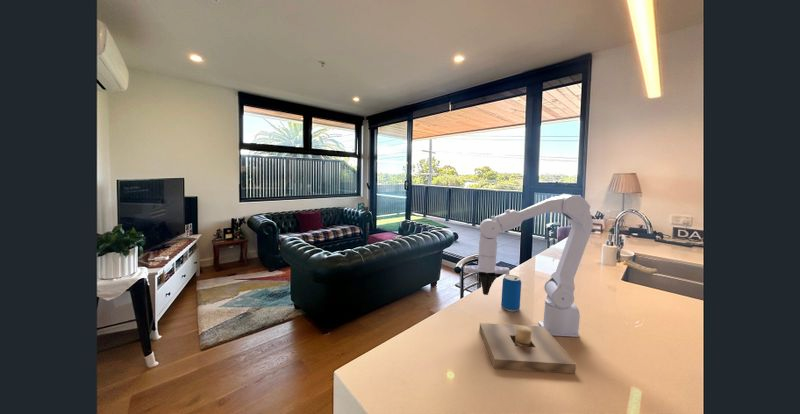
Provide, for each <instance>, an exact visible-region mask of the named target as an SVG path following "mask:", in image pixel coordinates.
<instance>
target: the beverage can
mask: <svg viewBox="0 0 800 414" xmlns="http://www.w3.org/2000/svg"><path fill="white" fill-rule="evenodd" d="M521 293H522V280H521V278H520V277H519V276H517V275H512V274H509V275H506V274H504V277H502V287H501V307H502V308H503V309H504V310H506V311H508V312H517V311H518V310H520V306H521V295H522V294H521Z"/></svg>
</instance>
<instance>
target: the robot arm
mask: <svg viewBox="0 0 800 414" xmlns="http://www.w3.org/2000/svg"><path fill="white" fill-rule="evenodd" d="M547 213H553V214H554V213H555V214H562V215H563V216H564V217H565V218H566V219H567V222H569V223H570V225H571V228H570V231H569V233H568V235H567V239H566V242H565V245H564V248H563V250H562V253H561V256H560V259H559V262H558V263H557V266H556V270H555V272H553V273H552V274H551V275H550V278H549V279H548V280H547V281H546V282H545V283H544V287H543V288H544V291H545V294H547V295H546V297H545V299H544V308H543V309H544V311H543V312H544V313H543V321H541V320H540V321H539V320H538V322H537V323H538V324H539V326H544V327H545V328H546V329H547V330H548V331H549V333H550V334H551V335H552V336H553V337H555V336H557V337H573V338H575V337H576V338H579V337H580V334H579V329H580V319H581V318H580V317H581V315H580V311H579V308H578V307H577V305H576V304H574V302H575V296H574V295H575V294H574V292H575V289H576V286H575V277H576V274H577V271H578V268H579V266H580V263H581V260H582V257H583V255H584V252H585V250H586V247H587V244H588V242H589V238H590V236H591V233H592V231H593V228H594V222H593V218H592V214H591V205H590V204H589V203H588V201H587V200H586V199H585V198H584V197H583V196H581V195H576V194H570V193H562V194H559V196H558V195H557V196H551V197H549V198H547V199H544V200H542V201H539V202H537V203H535V204H533V205H531V206H528V207H526V208H524V209H521V210H519V211H518V210H515V209H506V210H505V211H504V212H503V213H501V214H500V213H499V214H498V215H495V216H494V215H491V216H490V217H491V218H486V219H483V220H482V221H481V222H480V224H479V227H478V228H479V230H480V234H479V241H478V259H477V260H478V263H477V265H476V264H475V265H464V270H463V271H464V273H465V274H469V273H471V274H472V273H473V274H477V275H478V278H479V280H480V284H481V288H482V294H483V295H484V296H488V295H489V292H490V289H491V287H492V285H493V283H494V282H495V280H496V278H497V275H510V271H511V270H510V268H509V267H505V266H497V250H498V242H497V237H498V235H499V233H504V232H507V231H510V230H514V229H515V228H518V227H520V226H521V225H522V223H523V221H527V220H529V219H532V218H535V217H537V216H541V215H544V214H547Z"/></svg>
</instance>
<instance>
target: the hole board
mask: <svg viewBox="0 0 800 414" xmlns="http://www.w3.org/2000/svg"><path fill="white" fill-rule="evenodd" d="M517 326H525V327H528V328H529V329H531V344H530V347H520V346H515V335H516V327H517ZM478 331H479V334H480V335H481V338H482V340H483V341H482V342H483V343H484V346H485V348H486V351H487V353H488V356H489V359H490V360H491V364H492V366H493V369H495V370H497V369H498V370H499V369H500V370H514V371H515V370H516V371H530V372H541V373H542V372H544V373H545V372H546V373H556V374H558V373H559V374H561V373H562V374H574V375H575V374H576V369H577V363H576V362H574V360H573V359H572V358H571V357H570V355H569V354H568V353H567V352H566V351H565V349H564V348H563V346H561V345H560V344H559V342H558V341H557V339H555V336H553V335H551V334H550V333H549V331H548V330H547V329H546V328H545V327H544V326H541V325H539V326H538V325H527V324H526V325H524V324H504V323H487V322H479V330H478Z"/></svg>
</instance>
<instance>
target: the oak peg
mask: <svg viewBox="0 0 800 414" xmlns="http://www.w3.org/2000/svg"><path fill="white" fill-rule="evenodd" d="M530 344H531V329H529V328H528V327H525V326H517V327H516V335H515V346H520V347H530Z"/></svg>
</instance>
